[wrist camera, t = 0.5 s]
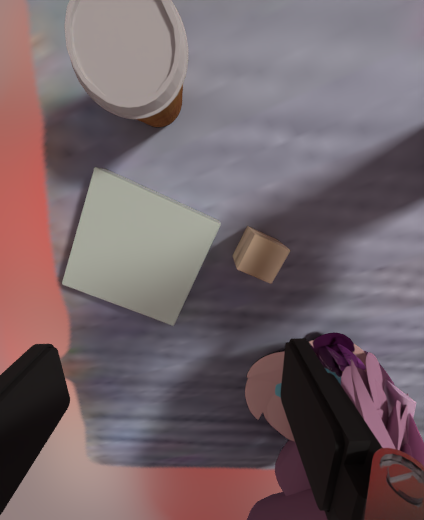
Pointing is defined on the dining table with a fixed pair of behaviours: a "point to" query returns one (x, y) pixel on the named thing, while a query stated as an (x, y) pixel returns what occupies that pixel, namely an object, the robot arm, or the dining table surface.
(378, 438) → the purple clam shell
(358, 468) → the robot arm
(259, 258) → the maple block
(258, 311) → the dining table surface
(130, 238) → the sage stand
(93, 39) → the disposable coffee cup
